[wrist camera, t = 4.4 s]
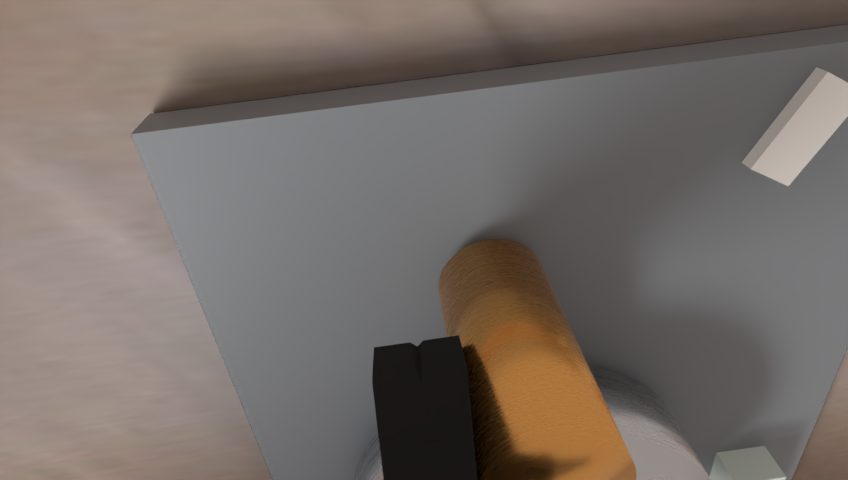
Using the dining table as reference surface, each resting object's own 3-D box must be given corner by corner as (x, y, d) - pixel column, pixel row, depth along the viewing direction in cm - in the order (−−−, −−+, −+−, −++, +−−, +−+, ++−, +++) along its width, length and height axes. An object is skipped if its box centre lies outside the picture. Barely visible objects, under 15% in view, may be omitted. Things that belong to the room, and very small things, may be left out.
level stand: (753, 500, 19) (797, 570, 17) (321, 563, 19) (317, 642, 17) (935, 12, 11) (1066, 42, 9) (149, 114, 10) (98, 167, 8)
